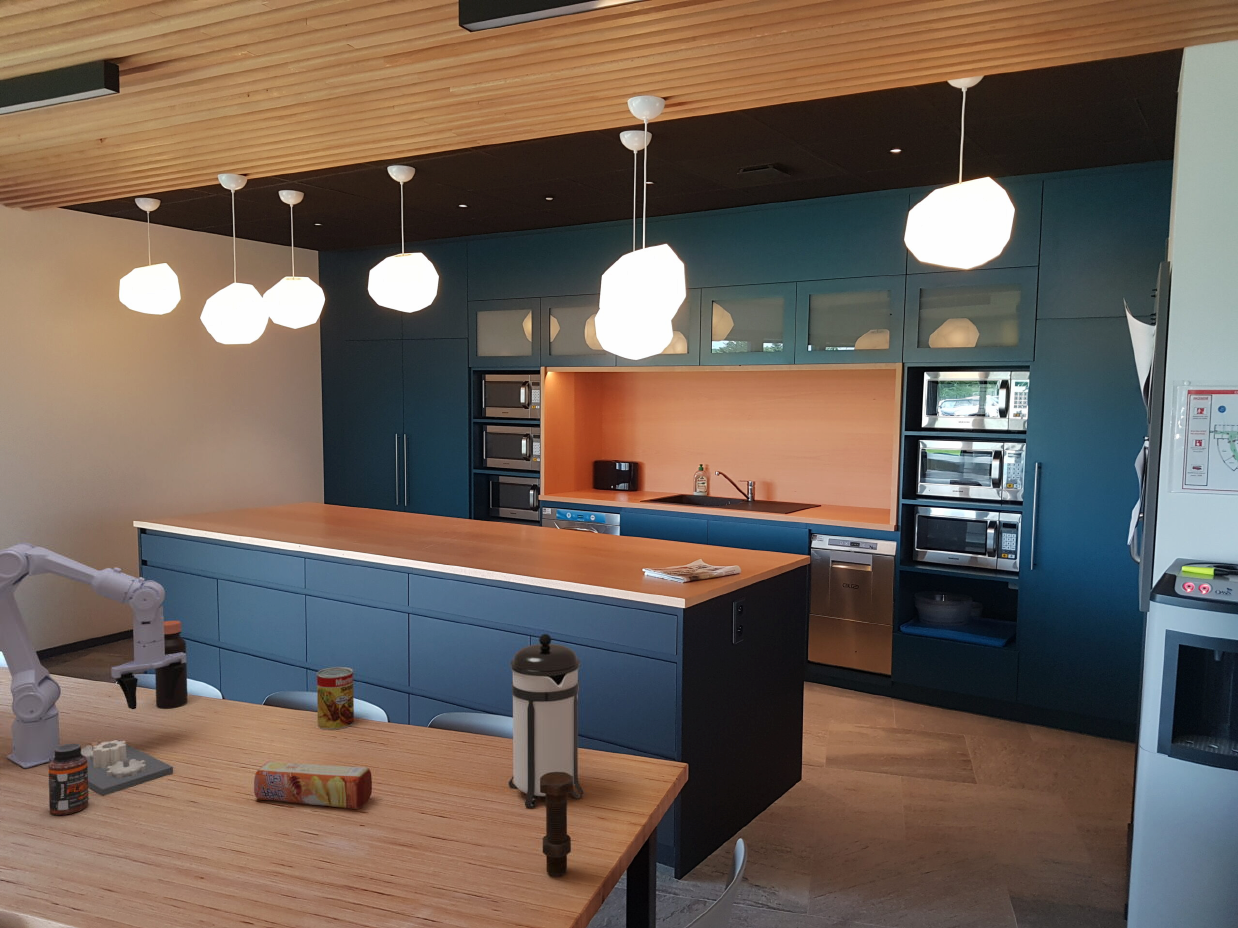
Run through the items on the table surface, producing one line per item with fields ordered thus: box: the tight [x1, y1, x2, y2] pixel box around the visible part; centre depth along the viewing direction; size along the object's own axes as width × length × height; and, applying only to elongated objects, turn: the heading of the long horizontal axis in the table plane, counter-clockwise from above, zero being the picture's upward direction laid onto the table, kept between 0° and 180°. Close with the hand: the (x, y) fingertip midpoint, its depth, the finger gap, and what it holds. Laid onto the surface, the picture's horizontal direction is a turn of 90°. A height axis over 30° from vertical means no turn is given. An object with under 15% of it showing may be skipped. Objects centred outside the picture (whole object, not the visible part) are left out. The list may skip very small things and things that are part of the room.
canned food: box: [316, 666, 355, 731], centre depth 201 cm, size 8×8×12 cm
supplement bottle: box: [48, 742, 89, 816], centre depth 158 cm, size 6×6×11 cm
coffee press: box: [508, 633, 585, 809], centre depth 165 cm, size 17×16×30 cm
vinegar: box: [154, 620, 189, 709], centre depth 214 cm, size 7×7×20 cm
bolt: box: [540, 772, 574, 878], centre depth 136 cm, size 6×5×15 cm
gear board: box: [48, 739, 174, 796], centre depth 176 cm, size 24×13×5 cm, turn 53°
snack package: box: [253, 760, 373, 810], centre depth 162 cm, size 21×7×7 cm, turn 78°
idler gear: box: [93, 739, 127, 769], centre depth 175 cm, size 6×6×4 cm
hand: (151, 703), depth 187 cm, fingers open, 7 cm apart
